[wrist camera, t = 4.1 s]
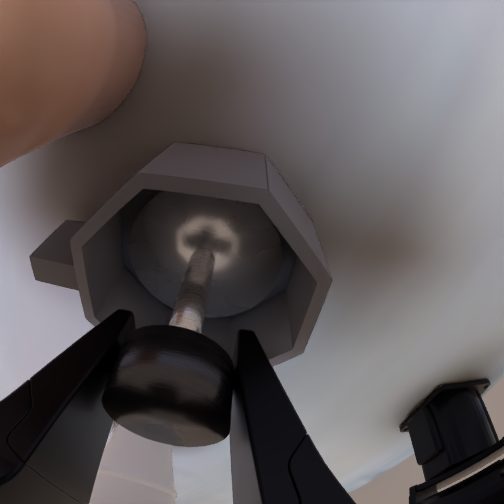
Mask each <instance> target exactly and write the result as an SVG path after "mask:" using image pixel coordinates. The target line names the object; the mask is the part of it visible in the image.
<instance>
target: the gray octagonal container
mask: <svg viewBox="0 0 504 504" xmlns="http://www.w3.org/2000/svg"><path fill="white" fill-rule="evenodd" d="M160 191H169V192H177V193H185V194H192V195H200V196H207V197H214V198H221V199H228V200H235V201H241V202H248V203H254V204H259V205H260V207H261V208H262V209H263V210H264V212H265V213H266V214H267V216H268V217H269V218H270V220H271V221H272V222H273V224H274V225H275V226H276V228H277V229H278V232H279V236H280V242H281V249H282V265H281V271H280V274H279V277H278V280H277V281H276V283H275V285H274V287H273V288H272V290H271V291H270V293H269V294H268V295H267V296H266V297H265V298H264V299H263V300H262V301H260V302H259V303H258V304H257V305H255V306H253V307H252V308H250V309H248V310H246V311H244V312H241V313H238V314H235V315H231V316H226V317H217V318H207V317H204V321H203V326H202V332H201V334H203V335H205V336H207V337H209V338H210V339H212V340H214V341H215V342H216V343H218V344H219V345H220V346H221V347H222V348H223V349H225V350H226V352H227V353H228V354H229V356H230V357H231V359H232V361H233V353H234V347H235V342H236V337H237V332H238V330H239V329H247V330H253V331H254V332H255V334H256V336H257V338H258V340H259V342H260V344H261V346H262V348H263V350H264V352H265V354H266V355H267V357H268V359H269V361H270V363H271V365H272V367H273V366H275V365H277V364H280V363H282V362H284V361H287V360H289V359H291V358H294V357H296V356H298V355H300V354H302V353H303V352H304V350H305V347H306V345H307V343H308V340H309V338H310V336H311V333H312V331H313V328H314V326H315V323H316V321H317V318H318V316H319V313H320V311H321V308H322V306H323V303H324V301H325V298H326V296H327V293H328V290H329V288H330V285H331V282H332V277H331V274H330V271H329V268H328V265H327V262H326V259H325V256H324V253H323V250H322V247H321V244H320V241H319V238H318V235H317V232H316V230H315V227H314V224H313V221H312V220H311V218H310V217H309V216H308V214H307V213H306V211H305V210H304V208H303V207H302V205H301V204H300V202H299V201H298V199H297V198H296V197H295V195H294V194H293V192H292V191H291V189H290V188H289V187H288V185H287V184H286V182H285V181H284V180H283V178H282V177H281V175H280V174H279V173H278V171H277V170H276V168H275V167H274V166H273V164H272V163H271V162H270V160H269V159H268V157H267V156H266V155H264V154H261V153H255V152H249V151H242V150H236V149H229V148H221V147H214V146H206V145H197V144H188V143H179V142H174V143H172V144H171V145H170V146H168V147H167V148H166V149H165V150H163V151H162V152H161V153H160V154H159V155H157V156H156V157H155V158H154V159H152V160H151V161H150V162H149V163H148V164H147V165H145V166H144V167H143V168H142V169H141V170H139V171H138V172H137V173H136V174H135V175H134V176H133V177H132V178H131V179H130V180H128V181H127V182H126V183H125V184H124V185H123V186H122V187H121V188H120V189H119V190H118V191H117V192H116V193H115V194H114V195H113V196H112V197H111V198H110V199H109V200H108V201H107V202H106V203H105V204H104V205H103V206H102V207H101V208H100V209H99V210H98V211H97V212H96V213H95V214H94V215H93V216H92V217H91V218H90V219H89V220H88V221H87V222H80V221H73V220H66V221H65V222H64V223H63V224H61V225H60V226H59V227H58V228H57V229H56V230H55V231H54V232H53V233H52V234H51V235H50V236H49V237H48V238H47V239H46V240H45V241H44V242H43V243H42V244H41V245H40V246H39V247H38V248H37V249H36V250H35V251H34V252H33V253H32V254H31V255H30V256H29V257H30V261H31V265H32V269H33V273H34V276H35V280H38V281H41V282H45V283H49V284H54V285H58V286H62V287H66V288H70V289H75V290H79V293H80V297H81V302H82V306H83V310H84V314H85V318H86V319H87V320H88V321H89V322H90V323H91V324H92V325H94V326H97V325H98V324H99V323H100V322H102V321H103V320H104V319H106V318H107V317H108V316H110V315H111V314H112V313H114V312H115V311H116V310H118V309H125V310H130V311H132V312H133V313H134V318H135V326H136V329H138V328H141V327H144V326H149V325H169V323H170V320H171V316H172V313H173V310H174V309H173V308H171V307H169V306H167V305H165V304H164V303H162V302H161V301H159V300H158V299H157V298H156V297H154V296H153V295H152V294H151V293H150V292H149V291H148V290H147V289H146V288H145V286H144V285H143V284H142V282H141V281H140V280H139V278H138V276H137V274H136V272H135V270H134V268H133V265H132V262H131V258H130V251H129V239H130V234H131V230H132V227H133V224H134V222H135V220H136V218H137V216H138V215H139V213H140V212H141V210H142V209H143V208H144V207H145V205H146V204H147V203H148V202H149V201H150V200H151V199H152V198H153V197H154V196H155V195H156V194H157V193H159V192H160Z"/></svg>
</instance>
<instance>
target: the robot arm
mask: <svg viewBox="0 0 504 504" xmlns="http://www.w3.org/2000/svg"><path fill="white" fill-rule="evenodd" d="M134 330H136V326H135V318H134V313H133V312H132V311H130V310H125V309H118V310H116V311H115V312H114V313H112V314H111V315H110V316H108V317H107V318H106V319H104V320H103V321H102V322H100V323H99V324H98V325H97V326H95V327H94V328H93V329H91V330H90V331H89V332H87V333H86V334H85V335H84V336H82V337H81V338H80V339H78V340H77V341H76V342H75V343H73V344H72V345H71V346H70V347H68V348H67V349H66V350H64V351H63V352H62V353H61V354H59V355H58V356H57V357H56V358H54V359H53V360H52V361H51V362H49V363H48V364H47V365H46V366H44V367H43V368H42V369H41V370H40V371H38V372H37V373H36V374H35V375H33V376H32V377H31V378H30V380H27V381H26V382H25V383H23V384H22V385H21V386H20V387H19V388H17V389H16V390H15V391H13V392H12V393H11V394H10V395H8V396H7V397H6V398H4V399H3V400H1V401H0V504H89V502H90V498H91V494H92V491H93V487H94V483H95V480H96V476H97V472H98V469H99V465H100V462H101V458H102V455H103V452H104V448H105V445H106V442H107V439H108V435H109V432H110V429H111V426H112V423H113V419H112V418H111V417H110V416H109V415H108V414H107V412H106V411H105V409H104V408H103V405H102V395H103V393H104V390H105V387H106V385H107V382H108V379H109V377H110V374H111V371H112V369H113V366H114V363H115V361H116V358H117V356H118V353H119V351H120V348H121V346H122V343H123V341H124V339H125V338H126V336H127V335H128V334H129V333H131V332H132V331H134ZM233 364H234V381H233V396H232V411H231V426H230V454H231V473H232V490H233V504H356V503H355V502H354V501H353V499H352V498H351V497H350V496H349V494H348V493H347V492H346V490H345V489H344V488H343V487H342V485H341V484H340V483H339V481H338V480H337V479H336V477H335V476H334V475H333V473H332V472H331V470H330V469H329V468H328V466H327V465H326V463H325V462H324V460H323V459H322V457H321V455H320V454H319V452H318V450H317V449H316V447H315V445H314V443H313V442H312V440H311V438H310V436H309V435H308V434H307V431H306V429H305V427H304V425H303V424H302V422H301V420H300V418H299V416H298V414H297V413H296V411H295V409H294V407H293V405H292V403H291V401H290V399H289V398H288V396H287V394H286V392H285V390H284V388H283V386H282V384H281V382H280V380H279V379H278V377H277V375H276V373H275V371H274V369H273V367H272V365H271V363H270V361H269V359H268V357H267V355H266V354H265V352H264V350H263V348H262V346H261V344H260V342H259V340H258V338H257V336H256V334H255V332H254V331H253V330H247V329H239V330H238V332H237V337H236V342H235V347H234V353H233ZM490 384H491V383H490V381H489V380H488V379H487V380H481V381H474V382H467V383H460V384H452V385H444V386H441V387H439V388H437V389H436V390H435V391H434V392H433V393H432V395H431V396H430V397H429V398H428V399H427V400H426V401H425V402H424V403H423V404H422V405H421V406H420V407H419V408H418V409H417V410H416V411H415V412H414V413H413V414H412V415H411V416H410V417H409V418H408V419H407V420H406V421H405V422H404V423H403V424H402V425H401V426H400V427H399V428H400V432H408V431H409V434H410V437H411V441H412V445H413V448H414V452H415V456H416V460H417V463H418V465H422V468H423V473H424V477H425V481H426V482H424V483H422V484H419V485H415V486H412V487H410V489H409V490H410V496H409V504H504V459H502V460H498V461H497V462H495V463H493V464H492V465H490V466H488V467H486V468H485V469H483V470H481V471H480V472H478V473H476V474H474V475H473V476H471V477H469V478H467V479H465V480H463V481H461V482H459V483H457V484H455V485H453V486H451V487H449V488H447V489H445V490H443V491H441V492H438V491H437V490H438V489H441V488H443V487H445V486H447V485H449V484H451V483H453V482H455V481H457V480H459V479H461V478H463V477H465V476H467V475H469V474H470V473H472V472H474V471H476V470H477V469H479V468H481V467H483V466H484V465H486V464H488V463H490V462H491V461H493V460H494V459H496V458H497V457H499V456H501V455H502V454H504V437H503V438H502V439H501V440H500V441H499V439H498V436H497V434H496V431H495V429H494V426H493V424H492V421H491V419H490V416H489V414H488V411H487V409H486V407H485V404H484V402H483V400H482V398H481V394H482V393H483V392H484V391H485V390H486V389H487V388H488V387H489V386H490Z"/></svg>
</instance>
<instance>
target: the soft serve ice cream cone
mask: <svg viewBox="0 0 504 504" xmlns="http://www.w3.org/2000/svg"><path fill="white" fill-rule="evenodd" d="M176 497H177V492H176V490H175V487H174V475H173V461H172V445H168V444H164V443H159V442H156V441H152V440H149V439H146V438H144V437H141V436H139V435H137V434H135V433H133V432H131V431H129V430H127V429H125V428H124V427H122V426H121V425H119V424H118V426H117V427H116V429H115V431H114V433H113V435H112V436H111V438H110V440H109V442H108V444H107V445H106V447H105V449H104V452H103V455H102V458H101V462H100V465H99V469H98V472H97V476H96V480H95V483H94V487H93V491H92V494H91V498H90V502H89V504H175V498H176Z"/></svg>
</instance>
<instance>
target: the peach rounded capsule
mask: <svg viewBox="0 0 504 504" xmlns="http://www.w3.org/2000/svg"><path fill="white" fill-rule="evenodd" d="M145 50H146V29H145V23H144V19H143V17H142V14H141V11H140V10H139V8H138V6H137V4H136V3H135V2H134V1H133V0H0V167H2V166H4V165H6V164H7V163H9V162H11V161H13V160H15V159H17V158H19V157H21V156H23V155H25V154H27V153H29V152H31V151H33V150H36V149H38V148H40V147H42V146H44V145H46V144H49V143H51V142H53V141H55V140H58V139H60V138H62V137H65V136H67V135H70V134H72V133H75V132H77V131H80V130H82V129H85V128H87V127H90V126H93V125H94V124H96V123H98V122H100V121H102V120H103V119H104V118H106V117H107V116H109V115H110V114H111V113H112V112H113V111H114V110H115V109H117V107H118V106H119V105H120V104H121V103H122V102H123V101H124V99H125V98H126V97H127V95H128V94H129V92H130V91H131V89H132V87H133V86H134V84H135V82H136V80H137V77H138V75H139V73H140V70H141V67H142V64H143V60H144V56H145Z"/></svg>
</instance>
